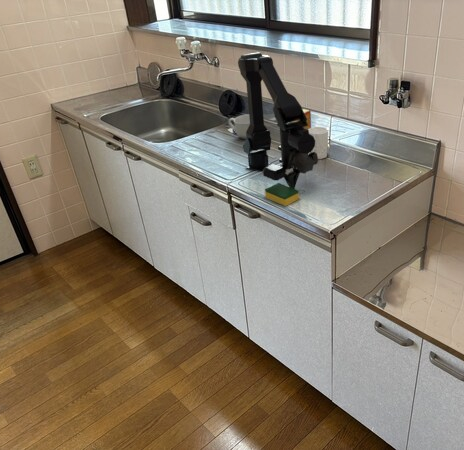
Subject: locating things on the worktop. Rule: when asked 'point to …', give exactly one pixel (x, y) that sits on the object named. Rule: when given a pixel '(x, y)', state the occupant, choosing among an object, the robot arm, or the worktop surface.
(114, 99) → the worktop surface
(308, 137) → the robot arm
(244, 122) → the teacup
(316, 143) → the white cup
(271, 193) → the sponge
